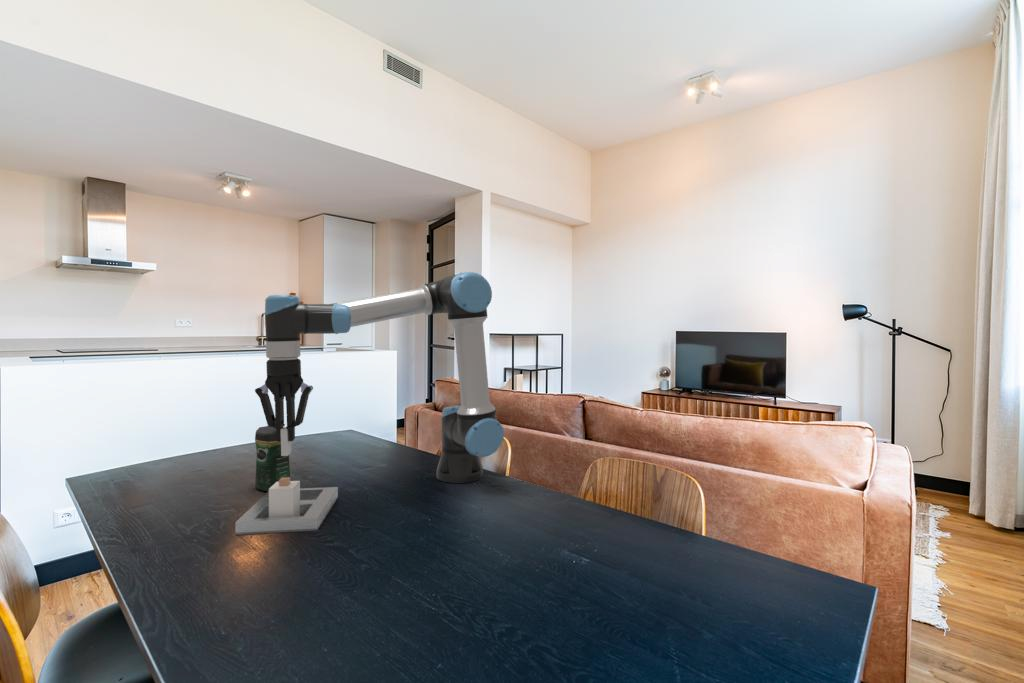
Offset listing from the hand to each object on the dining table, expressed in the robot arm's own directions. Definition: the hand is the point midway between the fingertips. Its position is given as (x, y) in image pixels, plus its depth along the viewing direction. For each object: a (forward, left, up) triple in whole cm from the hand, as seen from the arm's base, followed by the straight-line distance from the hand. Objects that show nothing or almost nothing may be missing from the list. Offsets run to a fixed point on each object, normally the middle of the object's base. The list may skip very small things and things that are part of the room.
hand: (286, 454), depth 114 cm
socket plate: (0, -5, -17) cm, 18 cm away
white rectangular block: (0, 0, -17) cm, 17 cm away
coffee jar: (+12, -27, -17) cm, 35 cm away
